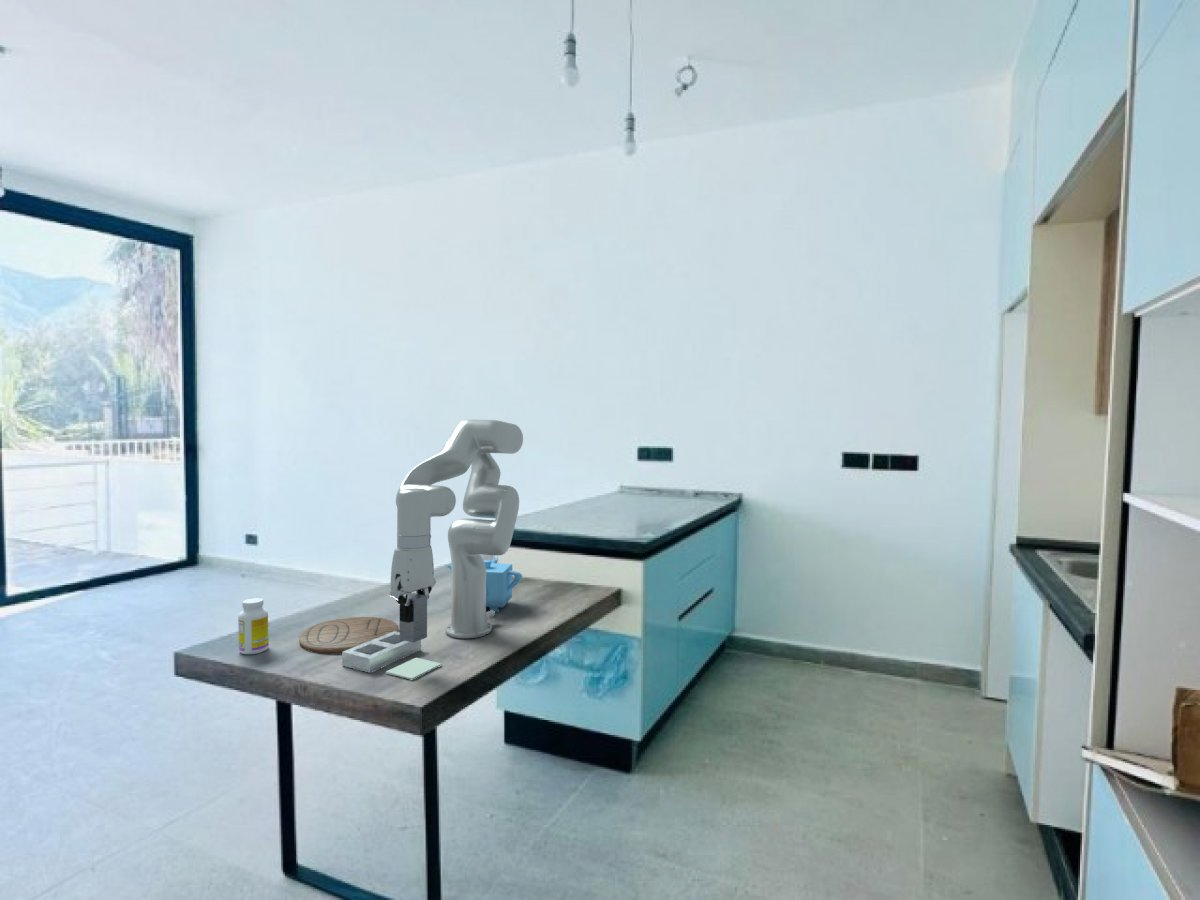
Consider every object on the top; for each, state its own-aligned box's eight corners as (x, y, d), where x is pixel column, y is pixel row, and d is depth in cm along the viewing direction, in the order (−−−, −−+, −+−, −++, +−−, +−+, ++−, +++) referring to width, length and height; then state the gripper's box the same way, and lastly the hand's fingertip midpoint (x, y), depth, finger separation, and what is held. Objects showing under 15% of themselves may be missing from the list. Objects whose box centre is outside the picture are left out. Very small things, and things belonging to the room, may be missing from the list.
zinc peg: (412, 634, 156) (413, 593, 155) (426, 637, 154) (427, 595, 153) (399, 639, 152) (399, 597, 151) (413, 642, 150) (414, 599, 149)
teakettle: (526, 608, 203) (526, 562, 203) (472, 619, 191) (473, 570, 191) (495, 595, 218) (495, 551, 217) (443, 605, 206) (443, 559, 205)
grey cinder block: (394, 644, 170) (394, 631, 170) (420, 650, 166) (420, 636, 166) (342, 666, 155) (342, 651, 155) (369, 673, 151) (369, 658, 151)
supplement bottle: (273, 646, 168) (272, 596, 167) (260, 655, 161) (260, 604, 160) (247, 645, 167) (246, 596, 167) (233, 655, 161) (232, 604, 160)
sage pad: (416, 659, 160) (416, 657, 160) (441, 666, 156) (441, 663, 156) (385, 674, 151) (385, 671, 151) (411, 680, 147) (411, 678, 147)
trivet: (395, 619, 192) (395, 613, 191) (401, 648, 168) (401, 641, 168) (302, 628, 182) (302, 621, 182) (295, 660, 159) (295, 652, 159)
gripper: (426, 534, 161) (425, 607, 162) (374, 545, 146) (374, 626, 147) (450, 537, 157) (449, 612, 158) (399, 549, 142) (399, 631, 143)
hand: (413, 617), depth 152 cm, fingers closed on zinc peg, 4 cm apart
